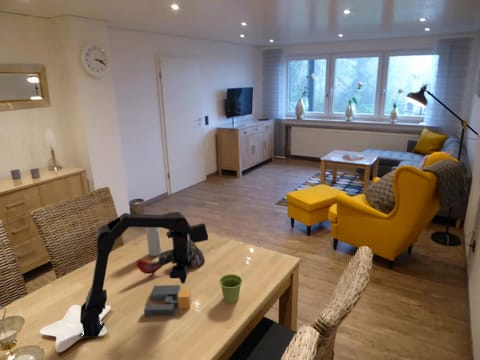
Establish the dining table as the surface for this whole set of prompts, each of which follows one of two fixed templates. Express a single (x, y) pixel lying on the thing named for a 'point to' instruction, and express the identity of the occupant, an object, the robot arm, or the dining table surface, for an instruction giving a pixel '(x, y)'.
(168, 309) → the grey rectangular blocks
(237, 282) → the plant pot
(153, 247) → the travel mug
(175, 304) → the plug
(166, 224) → the robot arm
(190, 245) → the decorative flower
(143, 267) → the decorative bird figurine
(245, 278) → the dining table surface
